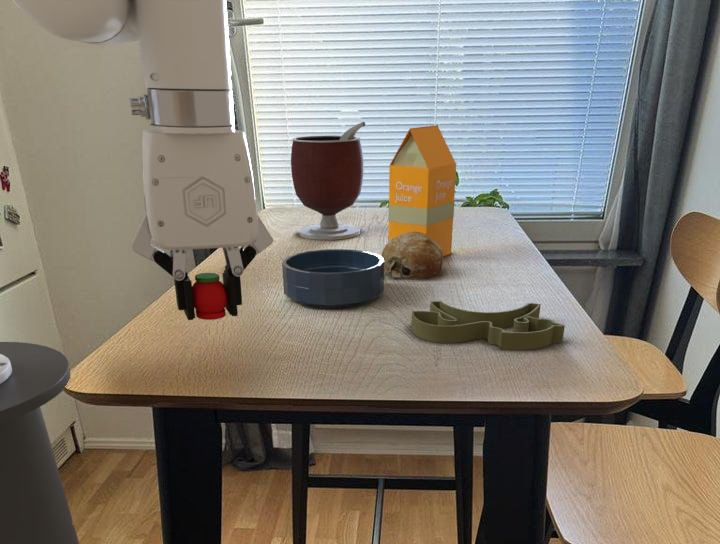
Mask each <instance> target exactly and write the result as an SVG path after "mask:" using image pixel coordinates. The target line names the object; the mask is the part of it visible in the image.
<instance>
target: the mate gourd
mask: <svg viewBox="0 0 720 544" xmlns="http://www.w3.org/2000/svg"><path fill="white" fill-rule="evenodd" d="M363 127H366V122H365V121H361V122H359V123H357V124H355V125H353V126H352V127H350V128H349V129H347V130H346V131H344V133H343V134H342V135H334V134H333V135H329V134H328V135H305V136H296V137H293V138H292V144H291V154H290V170H291V179H292V183H293V188H294V192H295V196H296V197H297V198H298V199H299V201H300V202H301V204H302V205H303V206H304V207H306V208H308V209H310V210H313V211H314V212H317V213H318V214H320V215H321V219H320V222H319V224H313V225H307V226H303V227H301V228H300V229H298V235H299V236H300V237H302V238H305V239H310V240H320V241H321V240H323V241H329V240H330V241H331V240H345V239H351V238H354V237H357V236H360V234H361V229H360V227H358V226H355V225H352V224H341V223H339V221H338V218H337V216H336V215H337V214H339V213H340V212H342V211H344V210H346V209H348V208H350V207H352V206H353V205H354V204H355V203H356V201H357V200H358V198H359V196H360V195H361V192H362V187H363V183H364V174H365V173H364V170H365V168H364V164H365V163H364V162H365V161H364V160H365V159H364V154H363V147H362V143H361V142H362V141H361V136H356V134H357V133H358V131H359V130H360V129H361V128H363Z"/></svg>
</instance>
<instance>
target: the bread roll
mask: <svg viewBox="0 0 720 544" xmlns="http://www.w3.org/2000/svg"><path fill="white" fill-rule="evenodd" d="M381 257H383V260H384V274H386V275H387V276H389V277H392V279H408V280H413V279H417V280H430V279H434V278H437V277H439V276H441V274H442V271H443V267H442V266H443V261H444V256H443V251H442V249H441V246H440V245H439V244H437V243H436V242H435V241H434V240H433V239H432V238H431V237H429V236H428V235H426V234H425V233H421V232H415V231H413V232H408V233H404V234H401V235H399V236H397V237H395V238H392V239H391V240H390V241H389V240H388V241H387V243H386V244H385V245H384V247H383V250H382V252H381Z"/></svg>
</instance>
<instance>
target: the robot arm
mask: <svg viewBox="0 0 720 544" xmlns="http://www.w3.org/2000/svg"><path fill="white" fill-rule="evenodd" d="M11 1H12V2H13V4H14V5H15V6H17V8H18V9H19V10H20V11H21V12H22V13H23V14H24V15H26V17H28V19H30V20H31V21H32V22H33V23H35V24H36V25H37V26H39V27H41V29H42V30H45V32H48V33H49V34H51V35H54V36H56V37H59V38H61V39H63V40H64V39H65V40H70V41H75V42H81V43H85V44H89V45H90V44H91V45H98V46H106V45H107V46H108V45H117V44H123V43H130V42H139V49H140V57H141V66H142V74H143V82H144V88H145V89H144V90H143V91H144V93H142V94H141V95H138V96H137V97H129V98H128V99H129V101H128V102H129V108H130V113H131V116H140V117H141V118H144V119H145V120H147V123H149V129H144V130H142V140H141V141H142V142H141V154H142V155H141V156H142V186H143V187H142V188H143V200H144V209H145V210H144V211H145V212H144V215H143V217H142V219H141V220H140V223H139V226H138V227H137V229H136V231H135V234H134V236H133V239H132V241H131V244H130V246H131V248H132V251H133V252H134V253H136V254H138V255H140V256H141V257H144V258H146V259H147V260H149V261H151V262H154V263H155V264H157V266H159V267H160V268H161V269H162V270H164V271H165V272H166V273H167V274H169V275H170V276H171V277H172V278H173V280H174V281H173V283H174V289H175V297H176V306H177V309H178V311H184V315H185V316H186V319H187V321H194V319H196V309H195V308H194V301H193V292H192V286H193V284H192V283H193V282H192V280H191V278H190V277H189V274H188V272H187V270H186V269H187V252H188V250H205V249H206V250H207V249H221V248H222V251H223V256H224V259H225V264H226V265H225V266H224V270H223V272H222V274H221V275H222V284H223V285H224V286H225V288H226V290H227V294H228V302H227V305H226V307H225V308H224V309H225V311H227V313H228V314H229V315H230V316H231V317H238V315H239V314H238V306H242V305H243V295H242V280H241V277H242V276H243V274H244V272H245V269H246V268H248V266H249V265H250V264H251V263H252V261H253V260H254V259H255V258H256V257H257V255H259V254H260V253H262V252H263V251H264V250H266V249H268V247H271V246H272V244H273V242H274V238H273V236H272V234H271V233H270V232H269V230H268V229H267V227H266V226H265V224H264V222H263V221H262V220H261V217H260V216H259V215H258V208H257V207H258V206H257V198H256V191H255V184H254V183H255V182H254V175H253V169H252V163H251V162H252V161H251V157H250V156H251V155H250V151H249V147H248V142H247V137H246V134H245V131H243V130H239V129H236V124H235V111H234V97H233V96H234V95H233V83H232V82H233V79H232V70H231V69H232V67H231V53H230V51H231V50H230V37H229V36H230V35H229V21H228V20H229V19H228V7H227V6H228V5H227V0H11ZM151 239H152V240H151ZM151 241H152V242H153V244H154V245H153V244H152V243H151ZM164 249H165V250H167V251H169V254H168V253H167V252H165V251H164ZM11 373H12V367H11V363H10V360H9V359H8V358H7V357H5V356H4V355H2V354H0V384H1V383H2V382H4V381H5V380H6V379H7V378H8V377H9V376H10V375H11Z"/></svg>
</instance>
